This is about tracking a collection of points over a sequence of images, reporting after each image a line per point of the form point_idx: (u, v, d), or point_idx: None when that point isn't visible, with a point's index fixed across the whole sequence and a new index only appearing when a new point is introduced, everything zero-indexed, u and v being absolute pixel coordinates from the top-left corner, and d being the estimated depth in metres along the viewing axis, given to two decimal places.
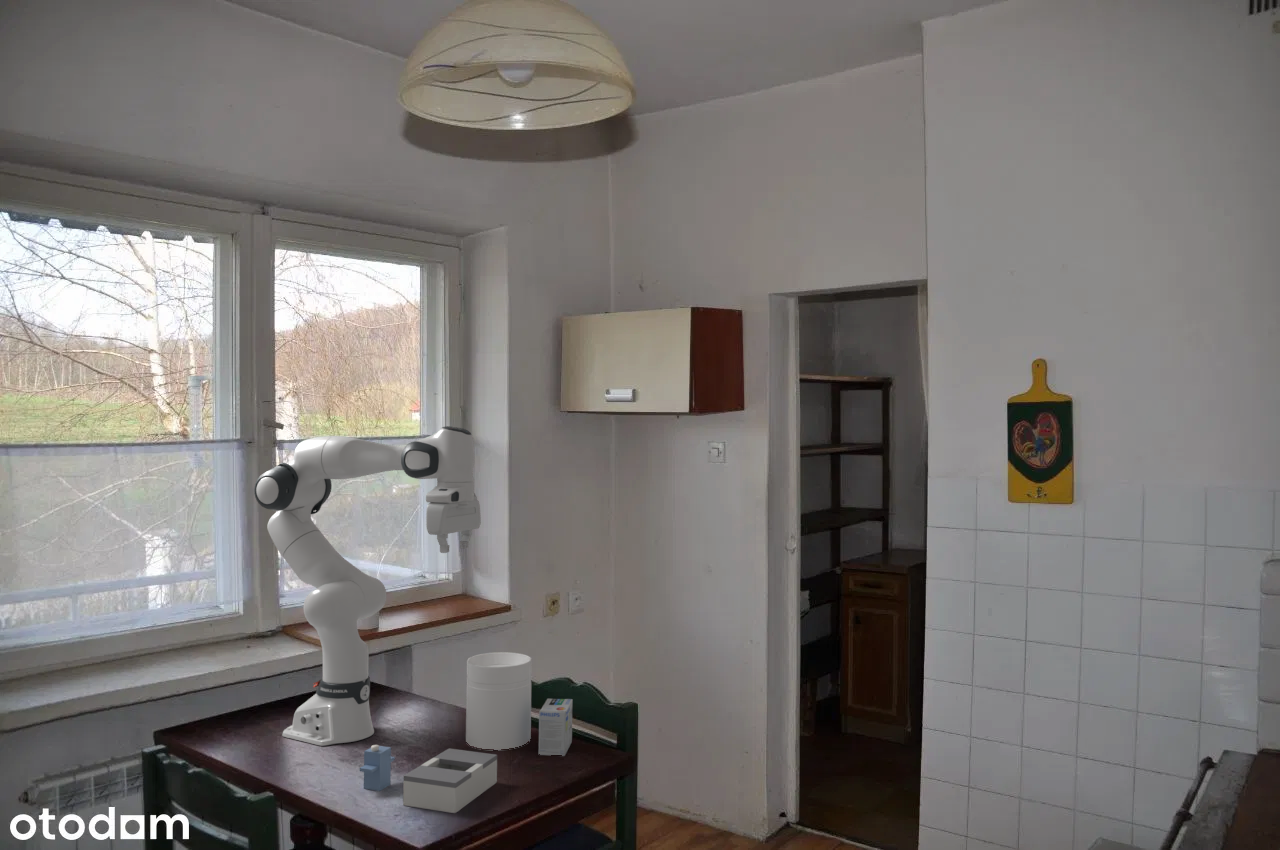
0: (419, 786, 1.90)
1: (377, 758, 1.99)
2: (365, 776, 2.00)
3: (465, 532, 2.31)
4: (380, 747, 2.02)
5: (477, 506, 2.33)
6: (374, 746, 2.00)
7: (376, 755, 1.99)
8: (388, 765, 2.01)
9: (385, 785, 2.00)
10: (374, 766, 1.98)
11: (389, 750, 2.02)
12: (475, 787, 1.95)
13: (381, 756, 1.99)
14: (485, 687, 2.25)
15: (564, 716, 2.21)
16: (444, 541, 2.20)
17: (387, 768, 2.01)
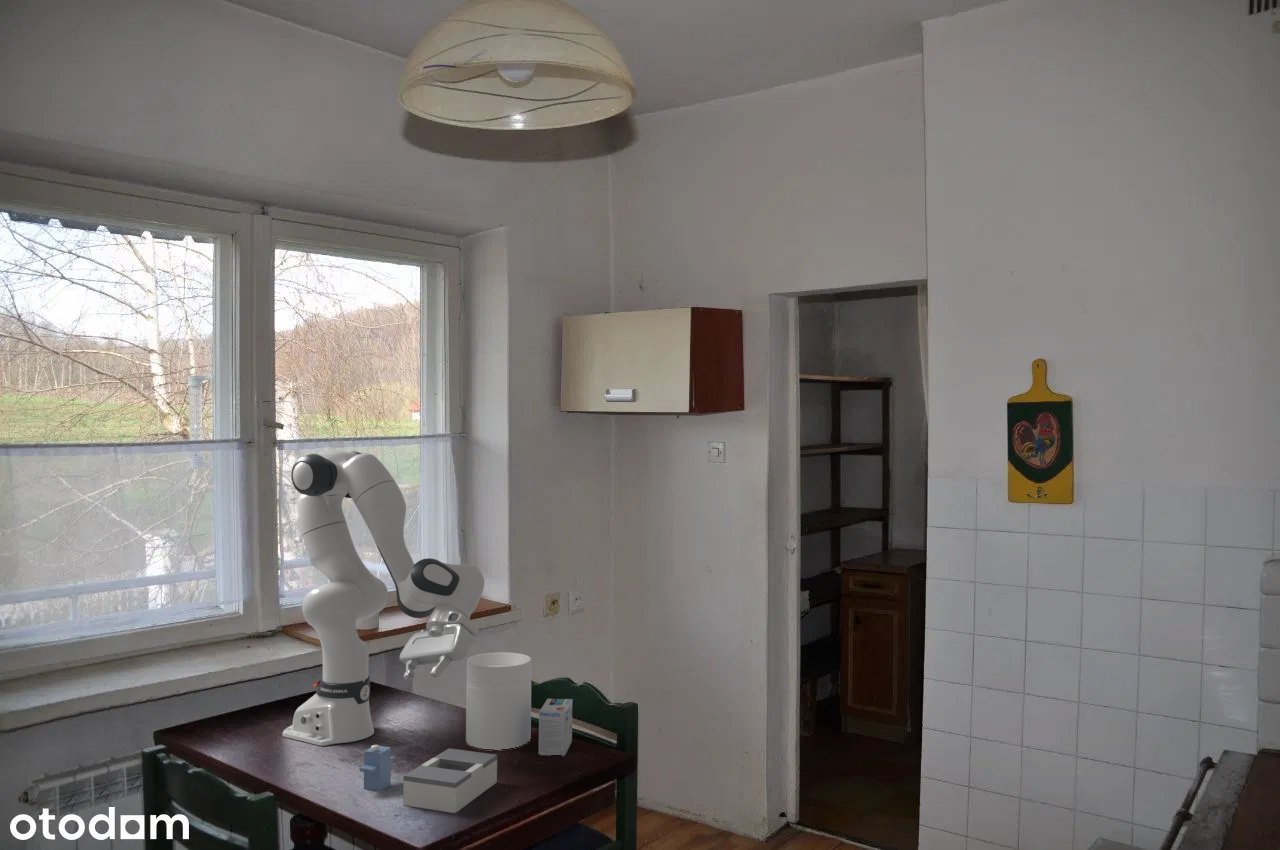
0: (419, 786, 1.90)
1: (377, 758, 1.99)
2: (365, 776, 2.00)
3: (413, 664, 2.17)
4: (380, 747, 2.02)
5: None
6: (374, 746, 2.00)
7: (376, 755, 1.99)
8: (388, 765, 2.01)
9: (385, 785, 2.00)
10: (374, 766, 1.98)
11: (389, 750, 2.02)
12: (475, 787, 1.95)
13: (381, 756, 1.99)
14: (485, 687, 2.25)
15: (564, 716, 2.21)
16: (446, 666, 2.10)
17: (387, 768, 2.01)
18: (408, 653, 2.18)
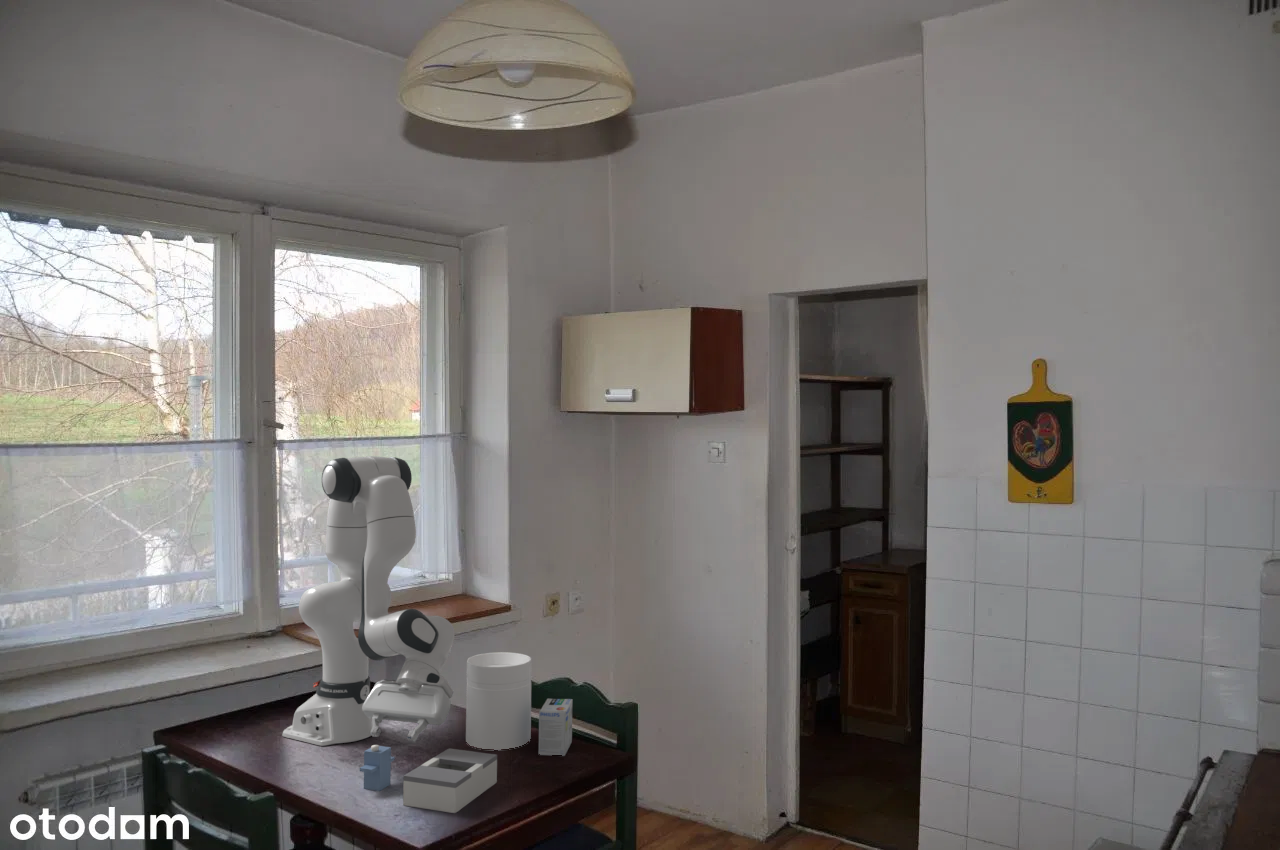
0: (419, 786, 1.90)
1: (377, 758, 1.99)
2: (365, 776, 2.00)
3: (379, 719, 2.10)
4: (380, 747, 2.02)
5: None
6: (374, 746, 2.00)
7: (376, 755, 1.99)
8: (388, 765, 2.01)
9: (385, 785, 2.00)
10: (374, 766, 1.98)
11: (389, 750, 2.02)
12: (475, 787, 1.95)
13: (381, 756, 1.99)
14: (485, 687, 2.25)
15: (564, 716, 2.21)
16: (422, 730, 2.06)
17: (387, 768, 2.01)
18: (375, 706, 2.11)
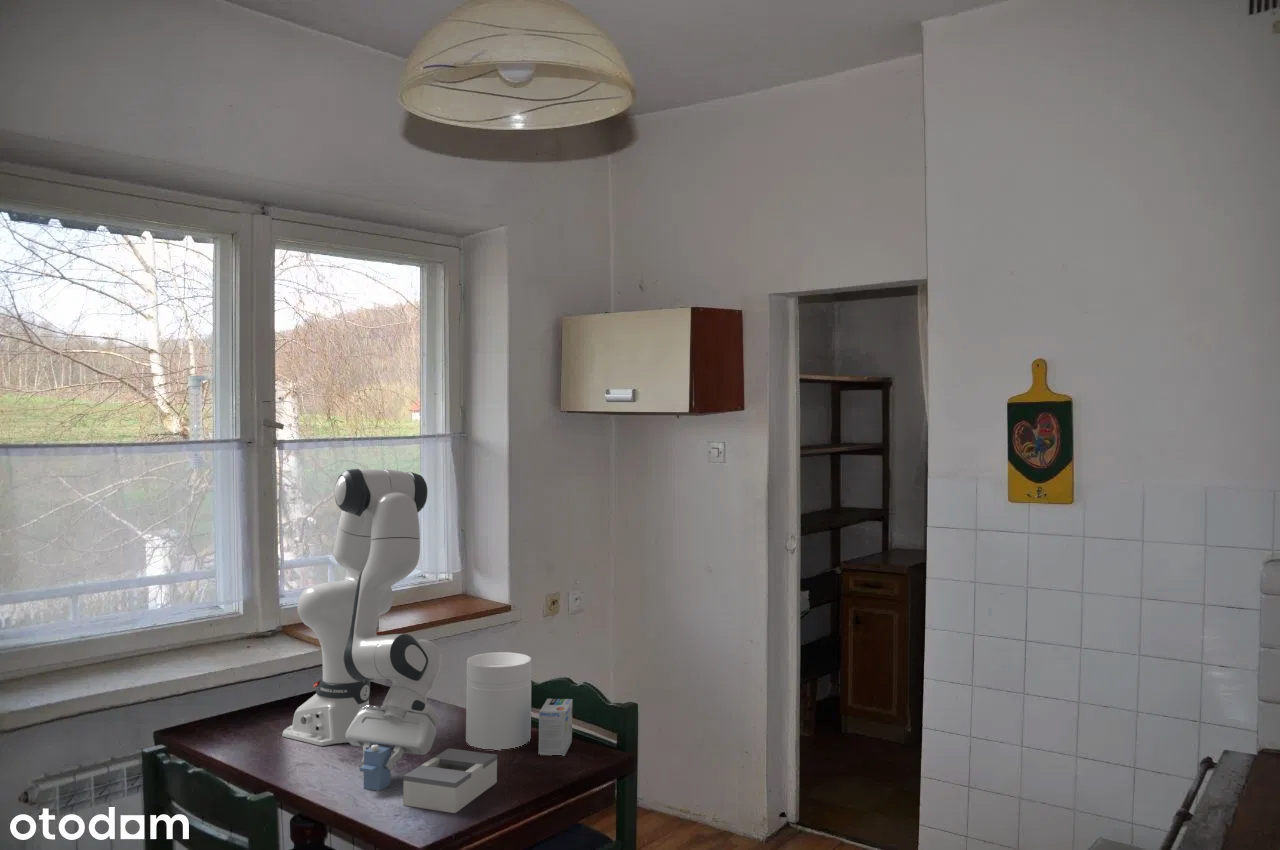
0: (419, 786, 1.90)
1: (377, 757, 1.99)
2: (365, 776, 2.00)
3: None
4: (380, 747, 2.02)
5: None
6: (374, 746, 2.00)
7: (376, 755, 1.99)
8: None
9: (385, 785, 2.00)
10: (374, 766, 1.98)
11: (389, 750, 2.02)
12: (475, 787, 1.95)
13: (381, 756, 1.99)
14: (485, 687, 2.25)
15: (564, 716, 2.21)
16: (399, 758, 2.02)
17: None
18: (358, 733, 2.05)
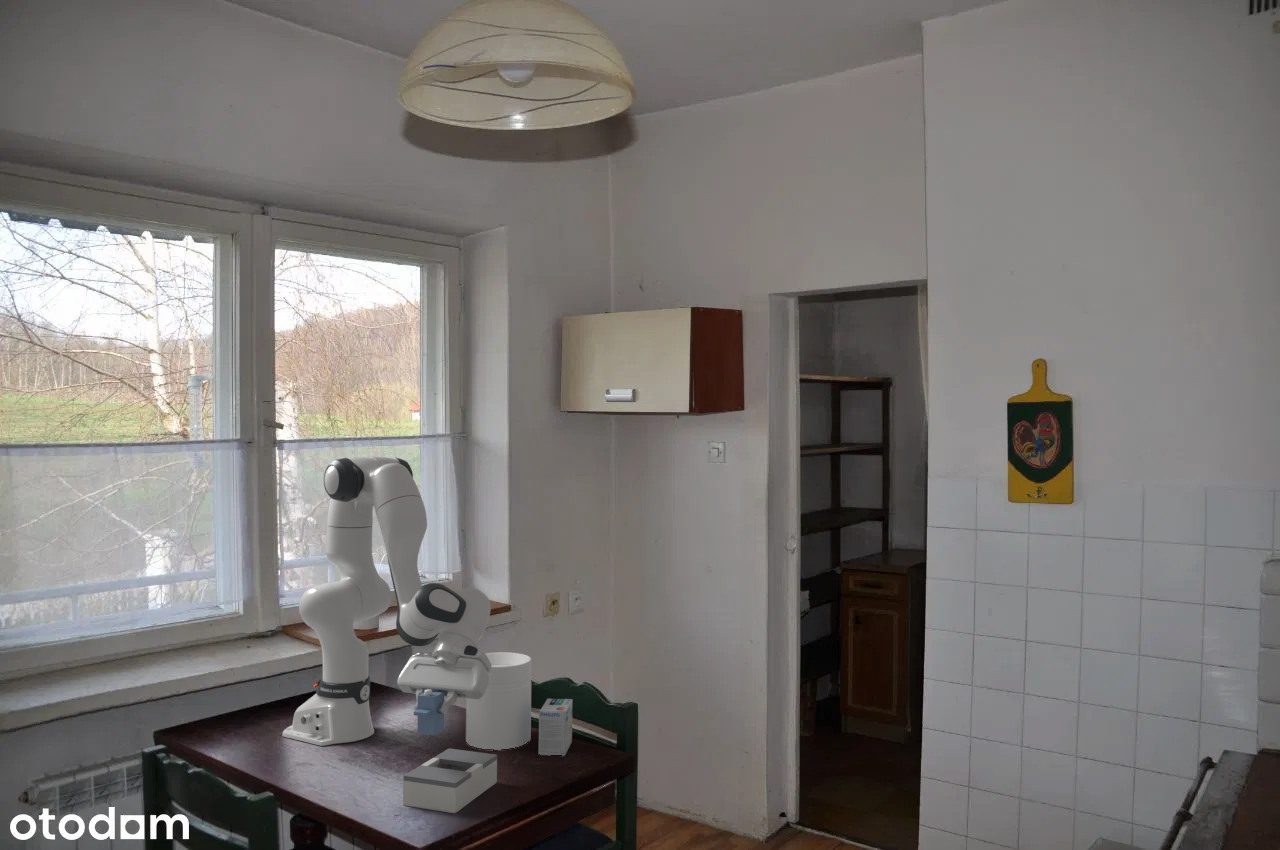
0: (419, 786, 1.90)
1: (431, 701, 1.96)
2: (419, 720, 1.97)
3: None
4: (433, 692, 2.00)
5: None
6: (427, 690, 1.97)
7: (430, 699, 1.96)
8: None
9: (439, 730, 1.98)
10: (428, 710, 1.96)
11: (442, 695, 1.99)
12: (475, 787, 1.95)
13: (434, 700, 1.96)
14: None
15: (564, 716, 2.21)
16: (452, 703, 1.99)
17: None
18: (410, 680, 2.03)
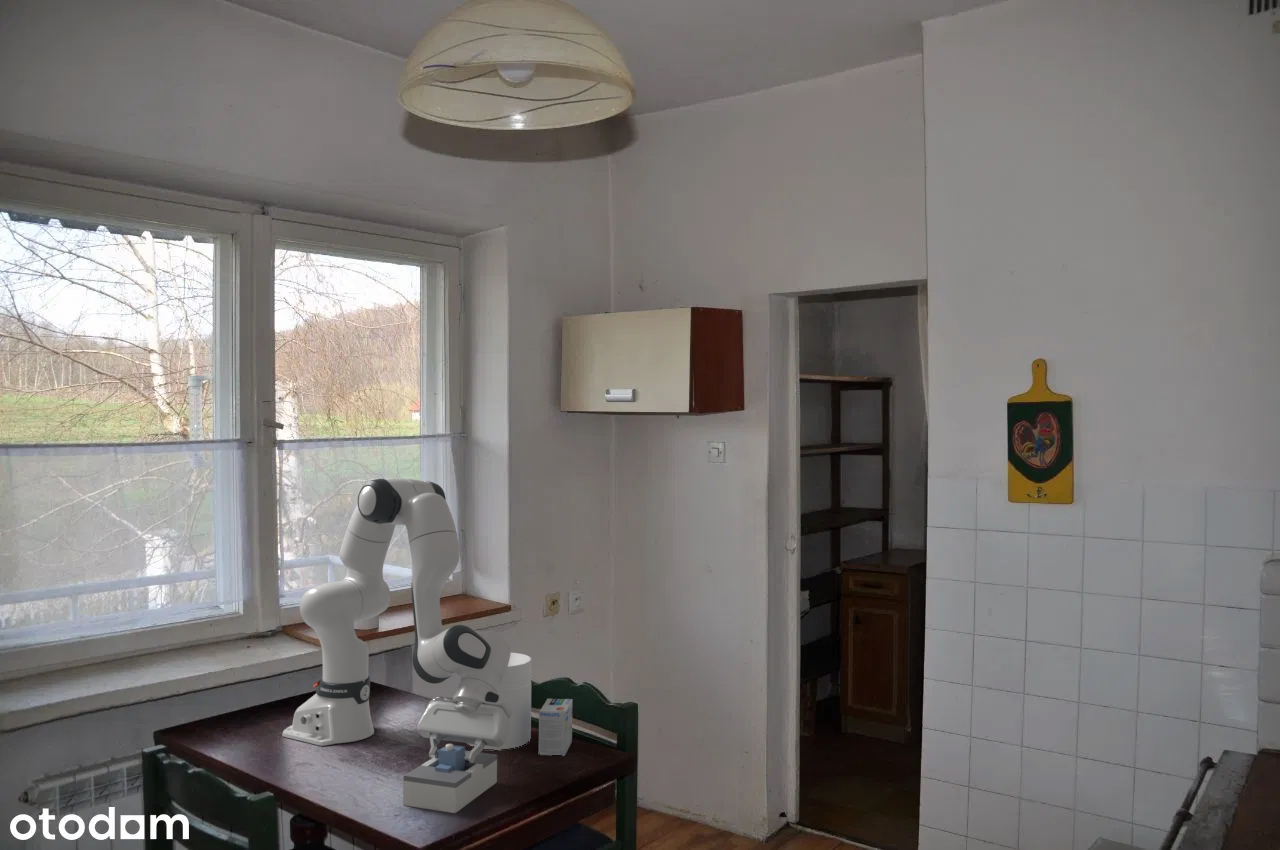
0: (419, 786, 1.90)
1: (453, 757, 1.95)
2: None
3: (437, 739, 2.01)
4: (454, 746, 1.99)
5: None
6: (448, 745, 1.96)
7: (451, 754, 1.95)
8: (462, 765, 1.98)
9: None
10: (449, 765, 1.95)
11: (463, 749, 1.98)
12: (475, 787, 1.95)
13: (456, 755, 1.95)
14: None
15: (564, 716, 2.21)
16: (480, 751, 1.98)
17: (461, 767, 1.98)
18: (431, 725, 2.02)
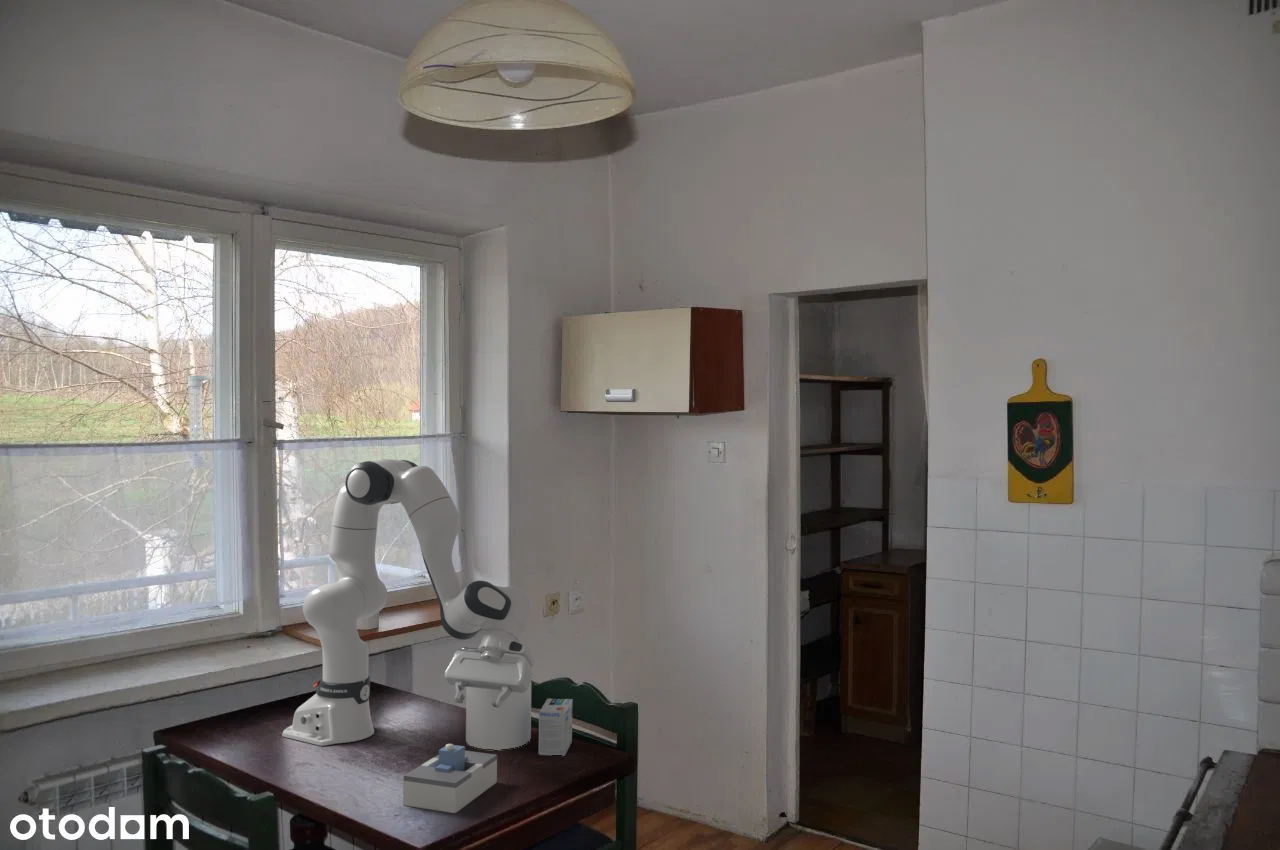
0: (419, 786, 1.90)
1: (453, 757, 1.95)
2: None
3: (462, 686, 2.12)
4: (454, 746, 1.99)
5: None
6: (448, 745, 1.96)
7: (451, 754, 1.95)
8: (462, 765, 1.98)
9: None
10: (449, 765, 1.95)
11: (463, 749, 1.98)
12: (475, 787, 1.95)
13: (456, 755, 1.95)
14: None
15: (564, 716, 2.21)
16: (506, 697, 2.08)
17: (461, 767, 1.98)
18: (457, 673, 2.13)
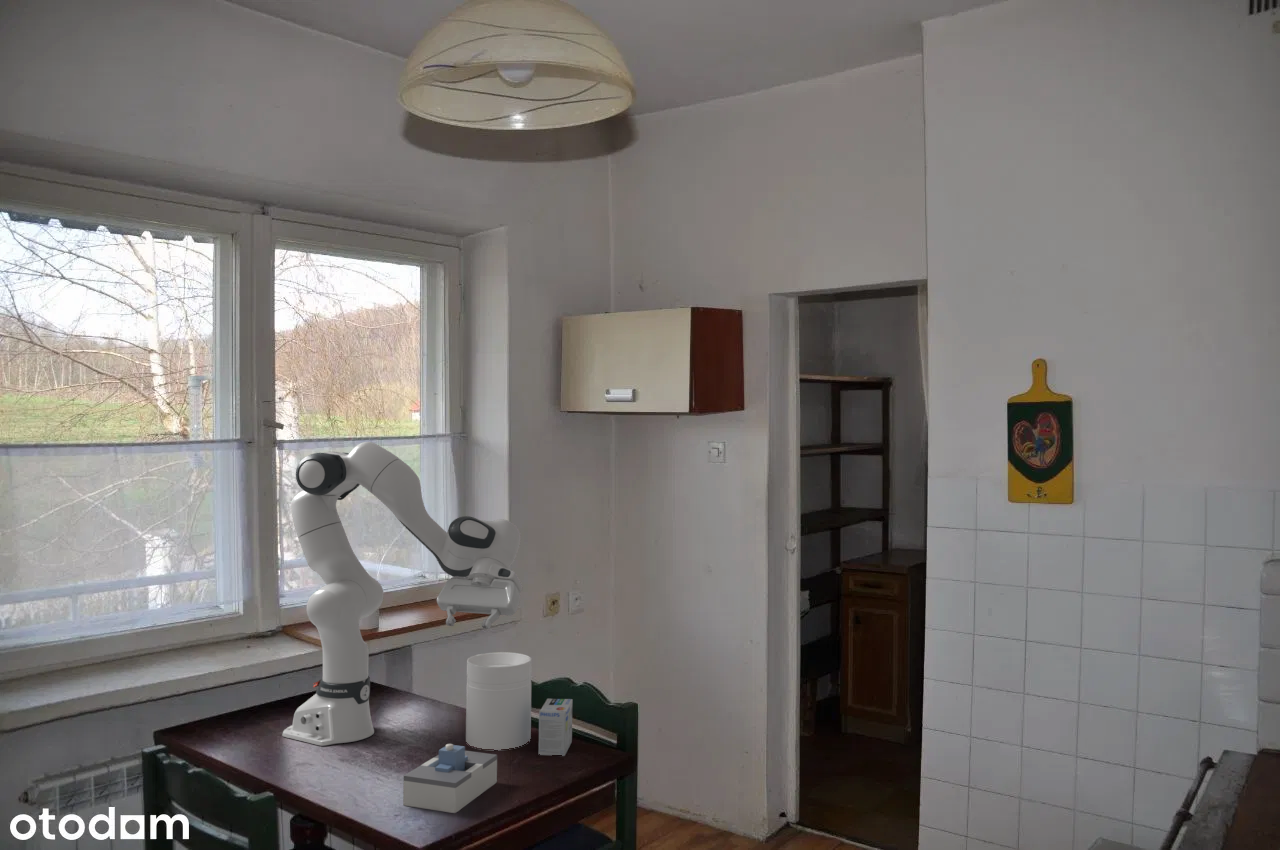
0: (419, 786, 1.90)
1: (453, 757, 1.95)
2: None
3: (453, 610, 2.22)
4: (454, 746, 1.99)
5: None
6: (448, 745, 1.96)
7: (451, 754, 1.95)
8: (462, 765, 1.98)
9: None
10: (449, 765, 1.95)
11: (463, 749, 1.98)
12: (475, 787, 1.95)
13: (456, 755, 1.95)
14: (485, 687, 2.25)
15: (564, 716, 2.21)
16: (495, 619, 2.18)
17: (461, 767, 1.98)
18: (449, 598, 2.22)
